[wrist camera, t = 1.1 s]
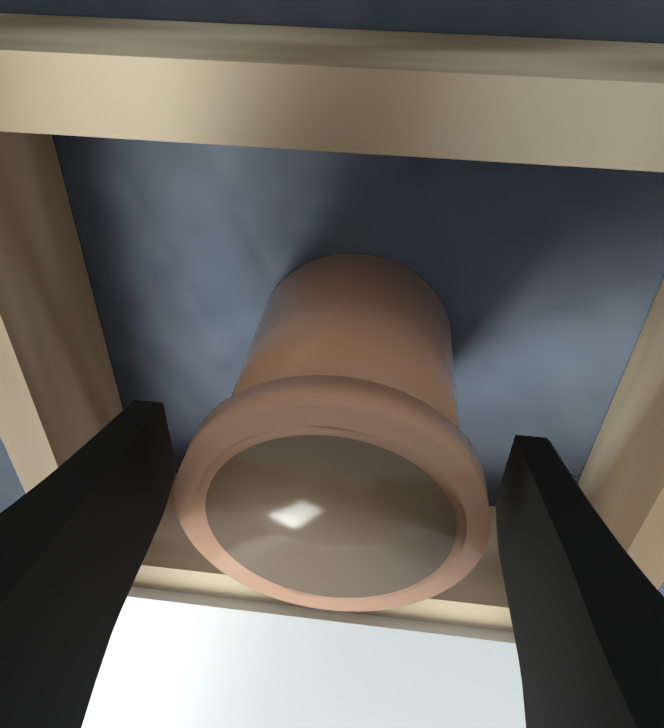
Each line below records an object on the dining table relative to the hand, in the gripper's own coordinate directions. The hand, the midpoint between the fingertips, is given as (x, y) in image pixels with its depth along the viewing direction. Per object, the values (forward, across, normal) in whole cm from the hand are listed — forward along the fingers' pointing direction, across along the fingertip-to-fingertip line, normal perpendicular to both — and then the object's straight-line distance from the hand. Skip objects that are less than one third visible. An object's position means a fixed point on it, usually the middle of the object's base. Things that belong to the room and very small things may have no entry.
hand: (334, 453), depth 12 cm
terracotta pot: (+4, 0, 0) cm, 4 cm away
